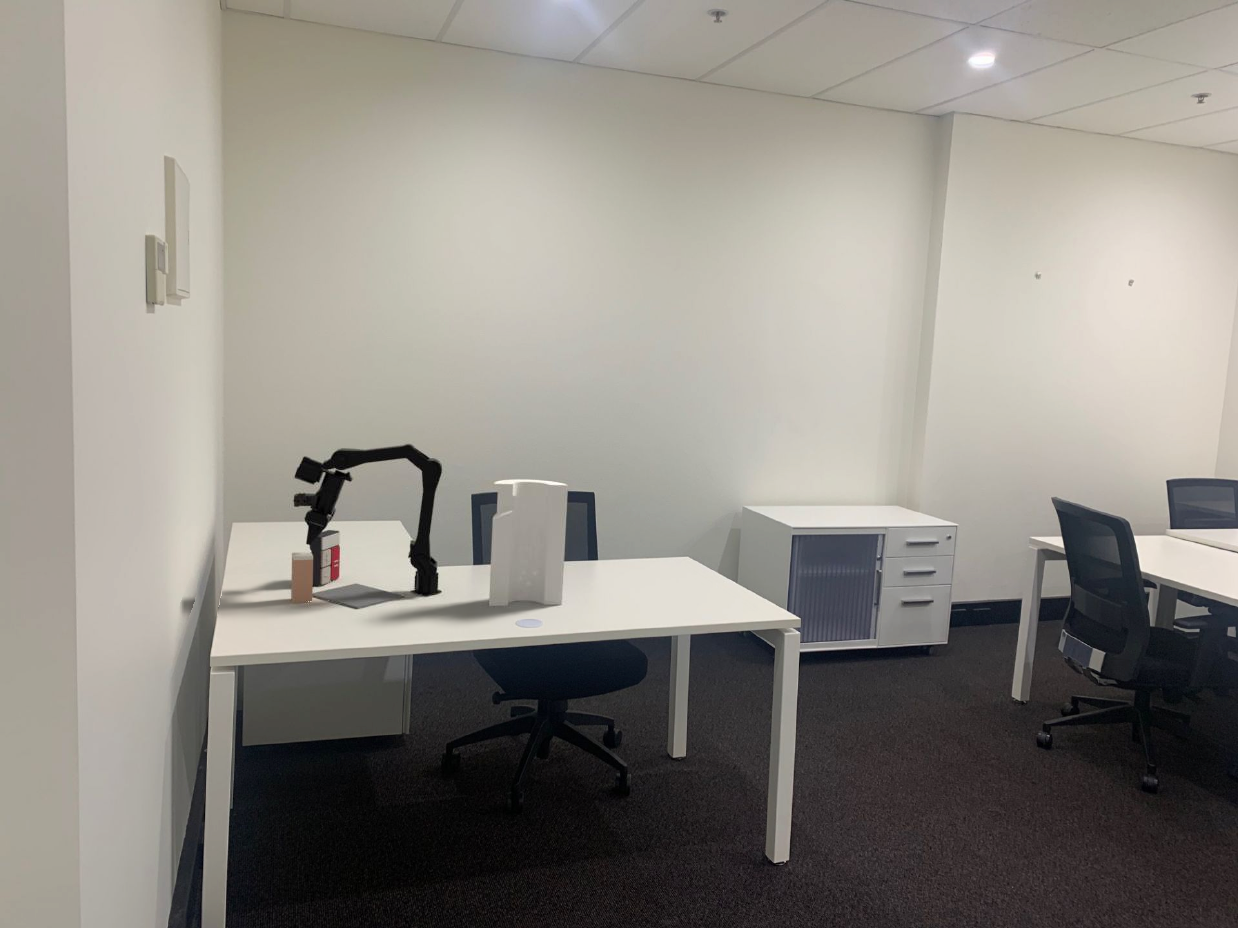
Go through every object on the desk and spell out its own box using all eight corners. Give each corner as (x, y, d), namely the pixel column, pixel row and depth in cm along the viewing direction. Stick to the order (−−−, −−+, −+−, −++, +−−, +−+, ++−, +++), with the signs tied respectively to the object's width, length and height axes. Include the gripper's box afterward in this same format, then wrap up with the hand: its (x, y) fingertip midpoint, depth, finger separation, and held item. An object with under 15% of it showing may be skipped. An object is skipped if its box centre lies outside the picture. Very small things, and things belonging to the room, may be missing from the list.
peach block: (310, 597, 248) (310, 552, 247) (312, 602, 244) (313, 555, 242) (291, 598, 246) (291, 552, 244) (293, 603, 241) (293, 556, 240)
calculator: (321, 587, 260) (322, 537, 258) (308, 585, 261) (309, 535, 259) (340, 578, 270) (341, 530, 269) (327, 577, 271) (329, 529, 270)
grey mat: (403, 597, 254) (404, 595, 254) (357, 608, 239) (358, 607, 239) (356, 584, 264) (356, 583, 264) (309, 595, 250) (309, 593, 250)
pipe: (562, 605, 255) (489, 606, 249) (554, 595, 266) (484, 596, 260) (568, 485, 251) (494, 484, 245) (560, 480, 262) (489, 478, 256)
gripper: (306, 476, 259) (287, 525, 259) (296, 485, 240) (276, 538, 241) (344, 489, 261) (325, 538, 262) (336, 499, 243) (316, 551, 243)
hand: (310, 541), depth 252 cm, fingers open, 9 cm apart
